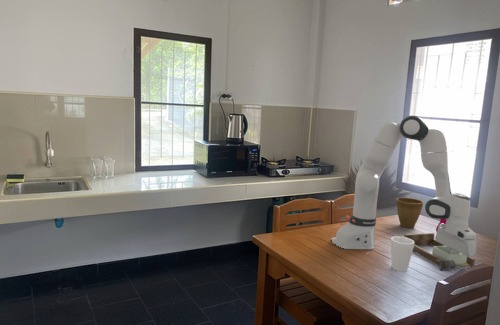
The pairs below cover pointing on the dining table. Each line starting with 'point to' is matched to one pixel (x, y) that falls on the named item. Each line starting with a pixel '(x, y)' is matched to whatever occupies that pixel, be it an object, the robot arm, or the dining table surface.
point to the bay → (429, 240)
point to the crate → (449, 255)
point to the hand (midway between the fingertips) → (452, 257)
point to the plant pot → (408, 211)
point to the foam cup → (401, 252)
